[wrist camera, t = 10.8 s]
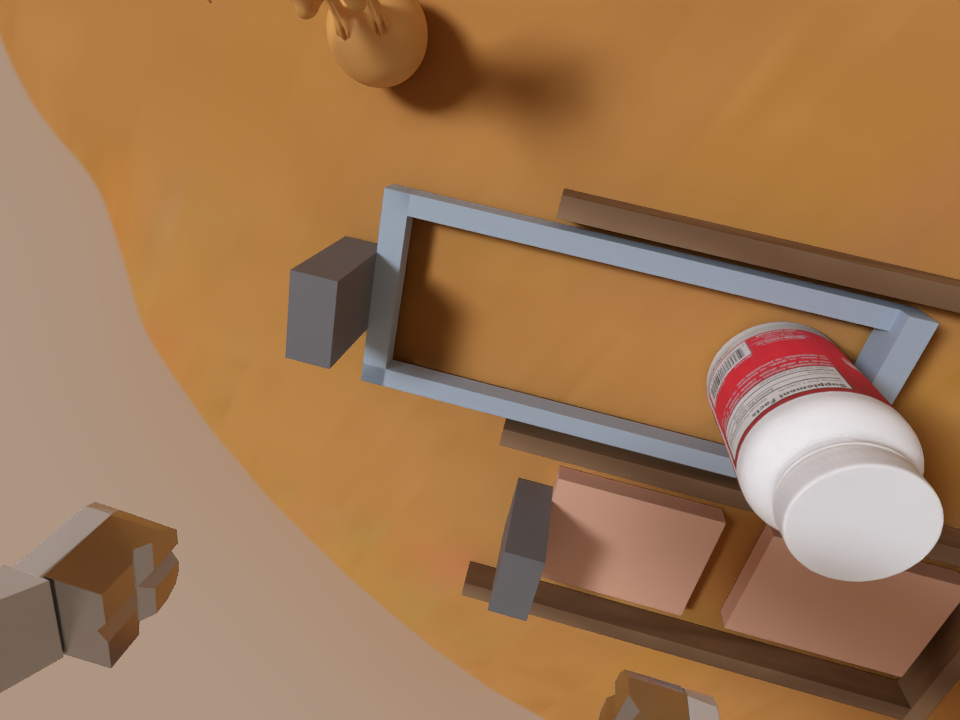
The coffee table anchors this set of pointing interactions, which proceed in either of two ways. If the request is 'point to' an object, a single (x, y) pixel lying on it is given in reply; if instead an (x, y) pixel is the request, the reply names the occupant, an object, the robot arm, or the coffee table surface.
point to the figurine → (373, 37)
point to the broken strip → (682, 558)
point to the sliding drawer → (381, 267)
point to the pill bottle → (822, 454)
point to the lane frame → (736, 483)
